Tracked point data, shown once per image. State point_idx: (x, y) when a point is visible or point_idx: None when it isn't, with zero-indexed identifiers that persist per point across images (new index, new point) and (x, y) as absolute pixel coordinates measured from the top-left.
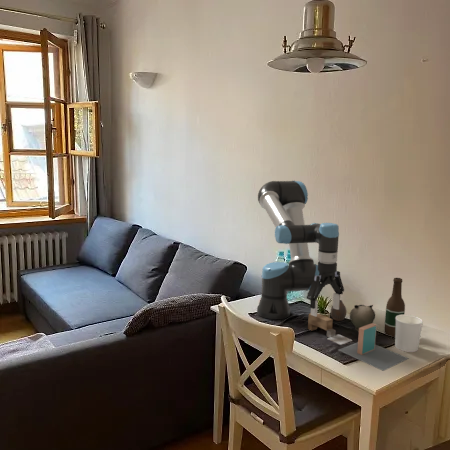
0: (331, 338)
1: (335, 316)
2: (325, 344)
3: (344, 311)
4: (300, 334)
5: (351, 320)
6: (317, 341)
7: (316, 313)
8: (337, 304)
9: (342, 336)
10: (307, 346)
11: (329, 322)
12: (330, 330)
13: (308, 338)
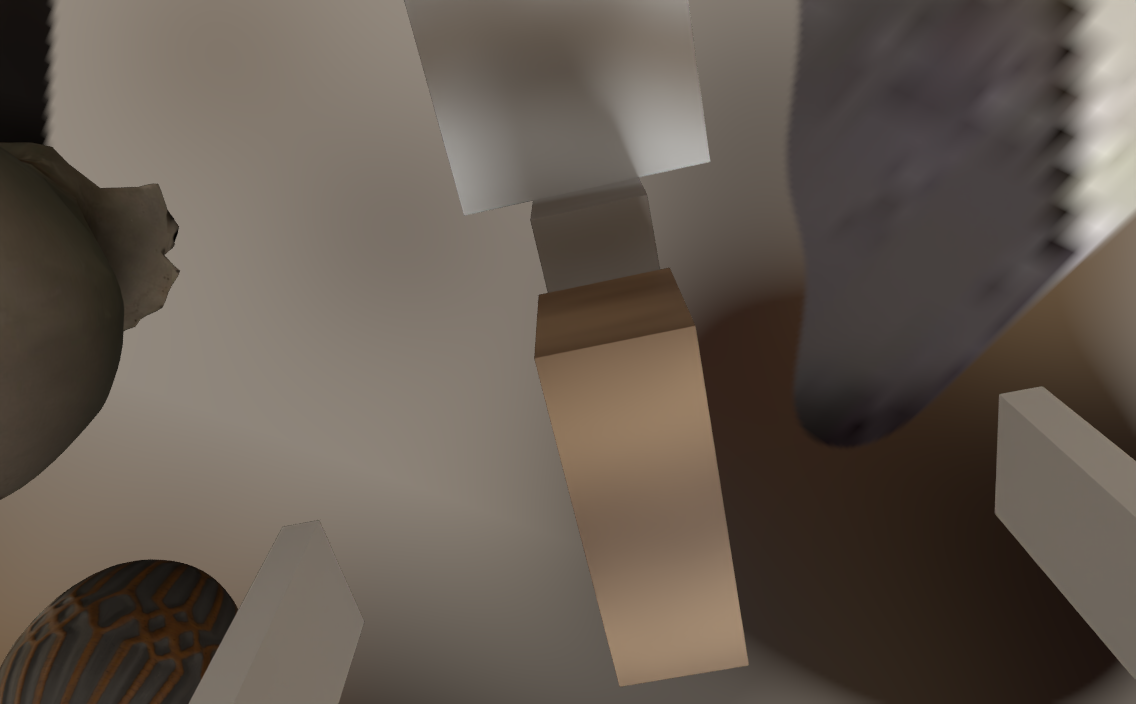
0: (657, 130)
1: (221, 615)
2: (825, 43)
3: (60, 632)
4: (882, 428)
5: (121, 332)
6: (850, 176)
7: (1063, 426)
8: (286, 620)
9: (458, 123)
10: (1092, 94)
11: (619, 324)
12: (612, 244)
13: (884, 300)
